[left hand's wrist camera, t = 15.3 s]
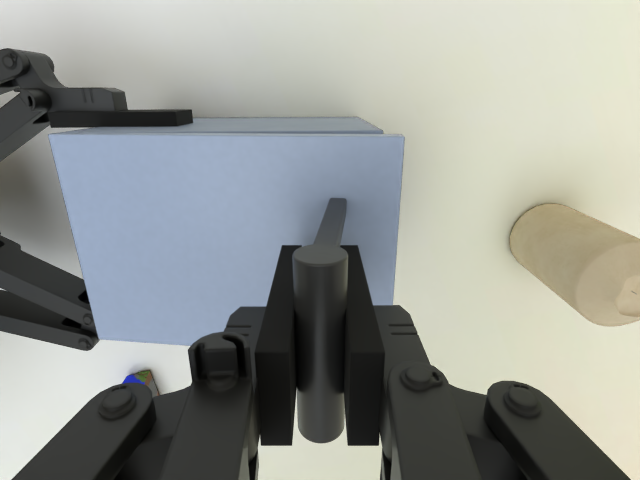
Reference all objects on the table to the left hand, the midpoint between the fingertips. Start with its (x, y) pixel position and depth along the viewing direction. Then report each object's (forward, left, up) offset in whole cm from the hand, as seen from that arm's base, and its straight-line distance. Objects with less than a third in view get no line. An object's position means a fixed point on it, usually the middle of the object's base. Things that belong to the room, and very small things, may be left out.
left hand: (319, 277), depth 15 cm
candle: (-17, -5, -15) cm, 24 cm away
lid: (+3, +2, -3) cm, 5 cm away
